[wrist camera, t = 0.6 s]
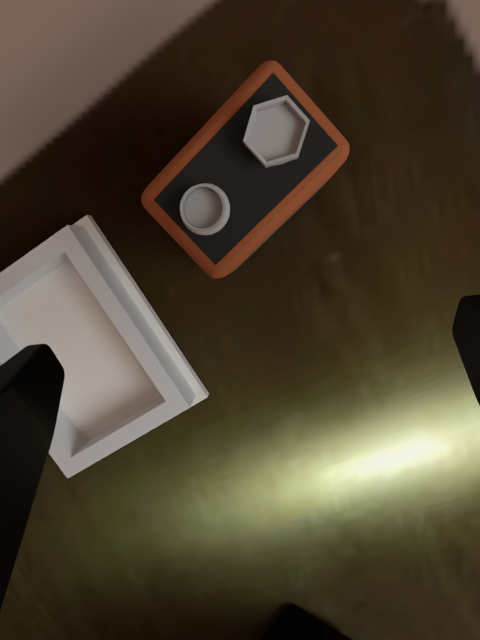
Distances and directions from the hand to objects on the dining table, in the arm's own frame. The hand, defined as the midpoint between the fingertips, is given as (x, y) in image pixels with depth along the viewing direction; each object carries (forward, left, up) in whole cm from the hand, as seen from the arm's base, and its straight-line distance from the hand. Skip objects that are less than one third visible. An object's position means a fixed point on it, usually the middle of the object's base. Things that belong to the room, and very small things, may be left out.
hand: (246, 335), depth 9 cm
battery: (+4, +3, -15) cm, 16 cm away
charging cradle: (-9, +7, -15) cm, 19 cm away
